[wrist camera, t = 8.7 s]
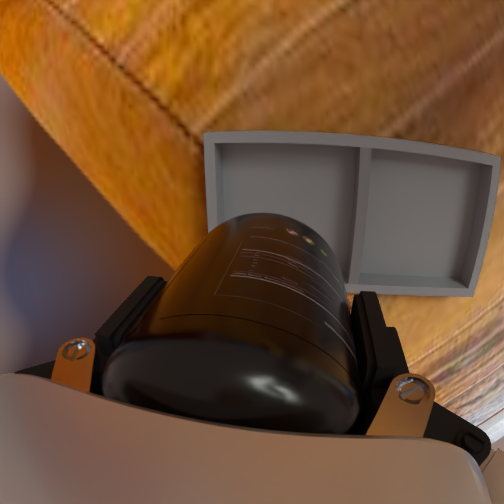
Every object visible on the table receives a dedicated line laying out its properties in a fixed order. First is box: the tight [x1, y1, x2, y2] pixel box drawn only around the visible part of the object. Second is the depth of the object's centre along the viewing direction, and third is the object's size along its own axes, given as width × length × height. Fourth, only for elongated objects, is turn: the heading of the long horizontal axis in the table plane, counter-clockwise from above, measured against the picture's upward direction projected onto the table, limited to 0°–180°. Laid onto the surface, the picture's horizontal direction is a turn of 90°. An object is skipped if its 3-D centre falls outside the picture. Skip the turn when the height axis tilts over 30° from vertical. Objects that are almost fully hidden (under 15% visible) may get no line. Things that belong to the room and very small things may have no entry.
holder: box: [203, 130, 501, 297], centre depth 24 cm, size 23×12×2 cm, turn 91°
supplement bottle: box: [100, 212, 365, 435], centre depth 9 cm, size 7×7×12 cm
